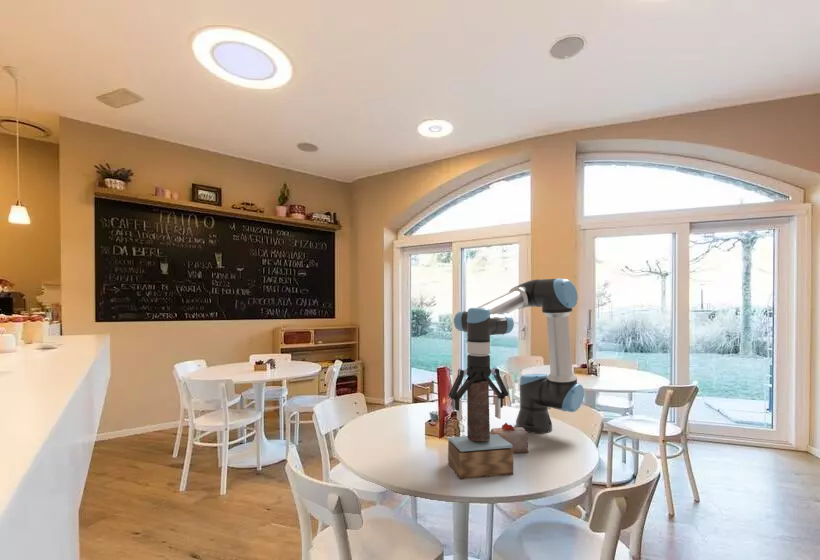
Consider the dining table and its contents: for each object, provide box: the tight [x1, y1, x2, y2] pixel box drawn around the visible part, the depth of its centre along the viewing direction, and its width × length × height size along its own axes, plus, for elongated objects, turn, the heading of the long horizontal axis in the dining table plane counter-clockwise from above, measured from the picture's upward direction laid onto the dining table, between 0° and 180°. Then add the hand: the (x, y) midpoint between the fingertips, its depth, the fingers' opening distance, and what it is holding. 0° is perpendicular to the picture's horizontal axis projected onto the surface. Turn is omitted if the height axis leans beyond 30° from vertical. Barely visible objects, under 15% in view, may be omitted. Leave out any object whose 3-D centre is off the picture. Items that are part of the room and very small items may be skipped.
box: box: [447, 439, 514, 481], centre depth 136 cm, size 18×12×8 cm, turn 103°
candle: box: [466, 380, 491, 442], centre depth 137 cm, size 8×7×20 cm
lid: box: [448, 434, 513, 452], centre depth 136 cm, size 18×12×1 cm
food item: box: [490, 422, 529, 454], centre depth 152 cm, size 14×8×10 cm, turn 95°
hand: (478, 418), depth 136 cm, fingers open, 13 cm apart
